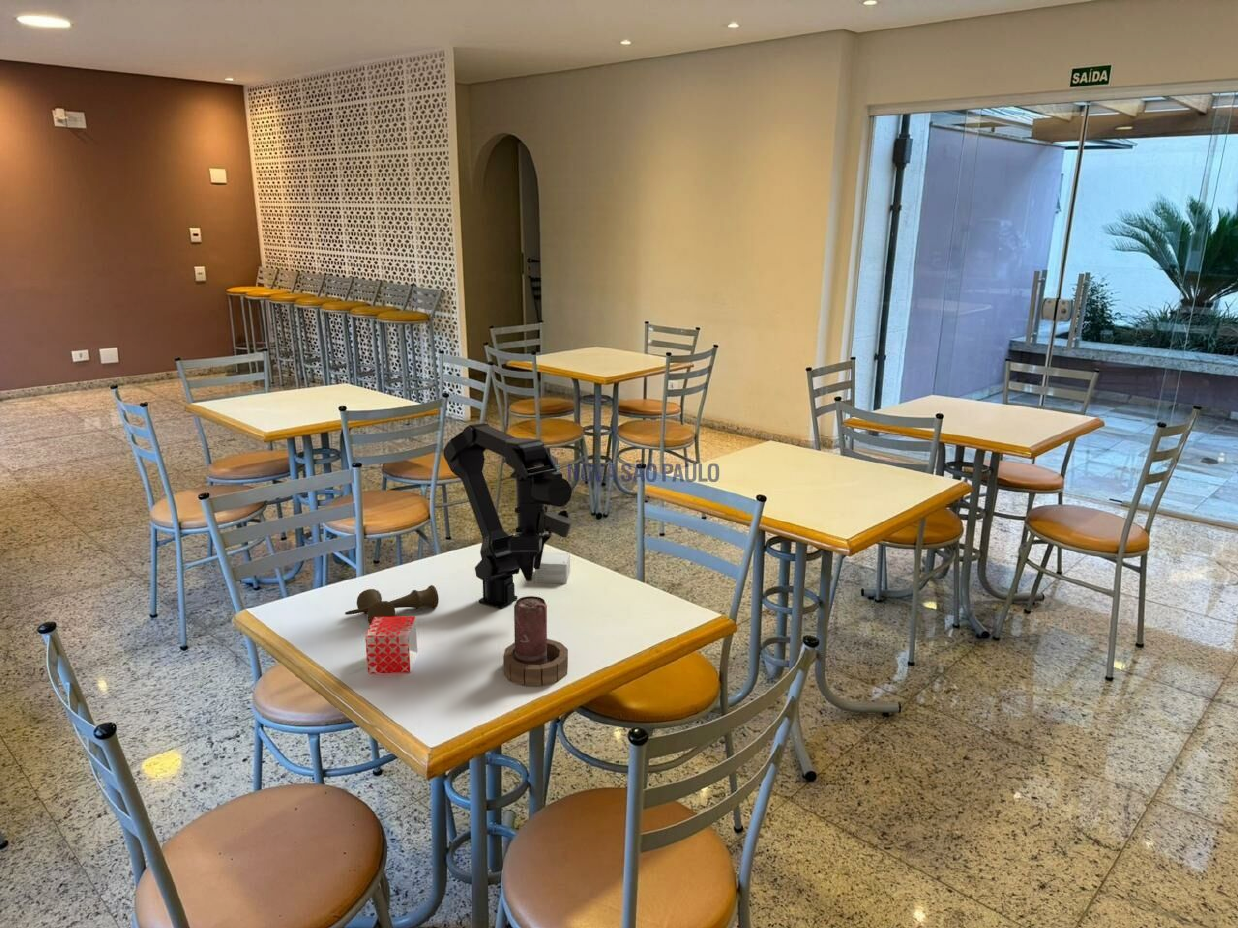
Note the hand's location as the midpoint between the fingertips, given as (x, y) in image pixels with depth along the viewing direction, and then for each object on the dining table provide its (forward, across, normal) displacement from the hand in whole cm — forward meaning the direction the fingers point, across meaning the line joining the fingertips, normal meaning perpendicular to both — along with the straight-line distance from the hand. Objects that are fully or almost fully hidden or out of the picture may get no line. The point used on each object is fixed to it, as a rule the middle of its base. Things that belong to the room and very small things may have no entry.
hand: (533, 574), depth 170 cm
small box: (+8, +28, +1) cm, 29 cm away
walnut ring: (+14, -17, -3) cm, 22 cm away
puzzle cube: (+13, -17, +25) cm, 33 cm away
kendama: (+10, +3, +32) cm, 33 cm away
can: (+14, -16, -2) cm, 22 cm away
